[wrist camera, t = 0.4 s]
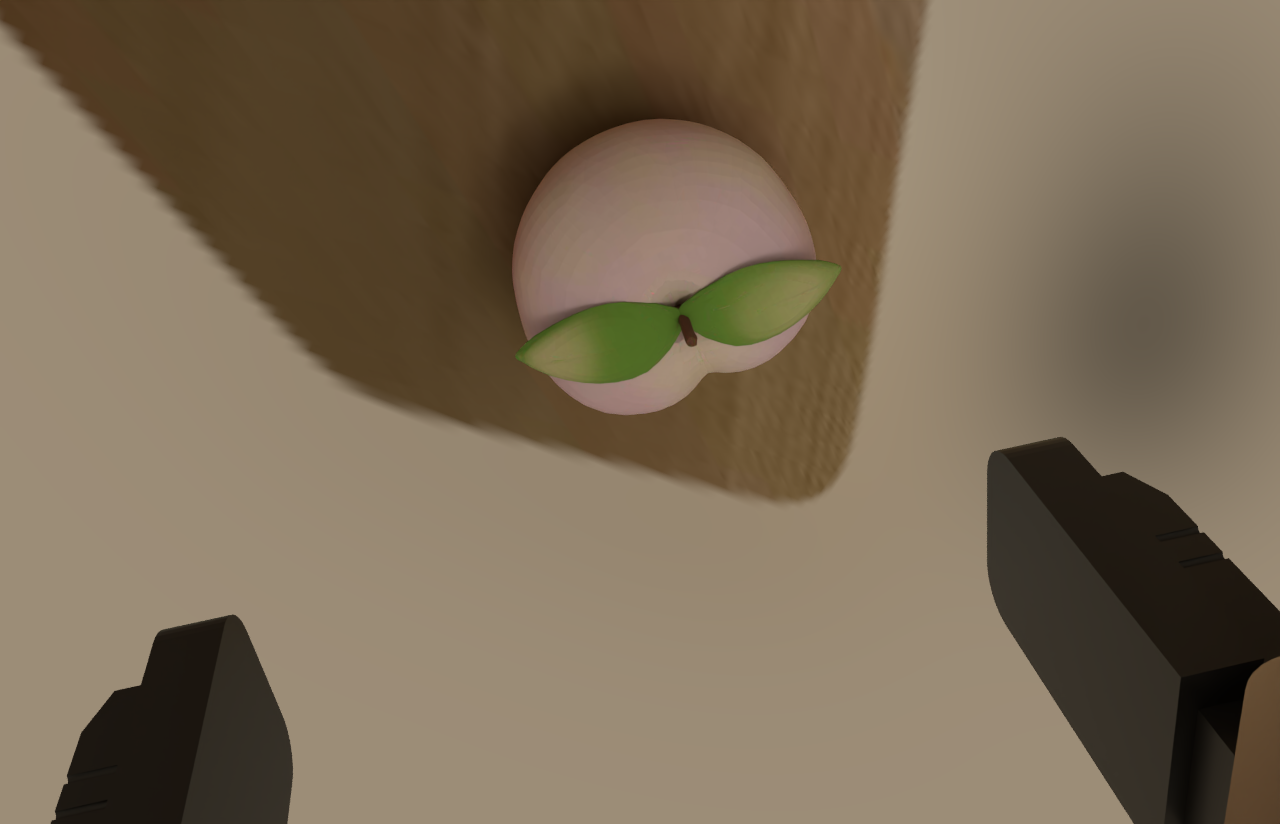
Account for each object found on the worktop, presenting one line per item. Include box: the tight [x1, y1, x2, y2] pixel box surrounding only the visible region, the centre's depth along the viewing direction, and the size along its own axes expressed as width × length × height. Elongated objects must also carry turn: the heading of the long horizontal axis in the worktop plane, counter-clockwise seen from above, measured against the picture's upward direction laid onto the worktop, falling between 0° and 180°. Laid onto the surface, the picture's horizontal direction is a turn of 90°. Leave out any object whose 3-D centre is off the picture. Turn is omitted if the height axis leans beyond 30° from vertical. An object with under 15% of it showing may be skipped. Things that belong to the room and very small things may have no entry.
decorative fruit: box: [512, 119, 841, 415], centre depth 36 cm, size 9×8×10 cm
